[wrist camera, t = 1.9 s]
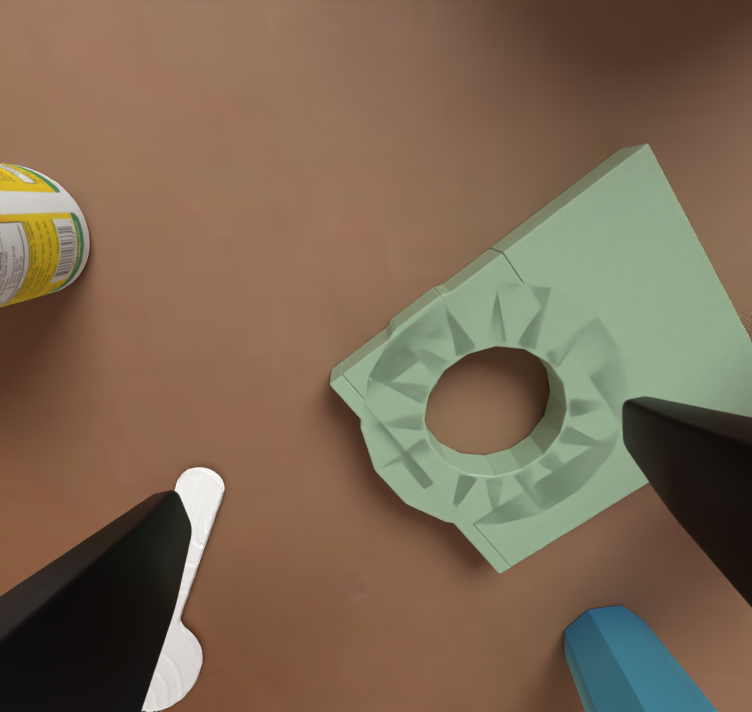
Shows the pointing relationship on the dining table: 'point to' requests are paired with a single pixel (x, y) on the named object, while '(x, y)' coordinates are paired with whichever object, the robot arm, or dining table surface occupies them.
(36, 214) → the supplement bottle
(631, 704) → the cup
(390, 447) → the holder plate
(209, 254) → the dining table surface
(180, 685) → the spoon
